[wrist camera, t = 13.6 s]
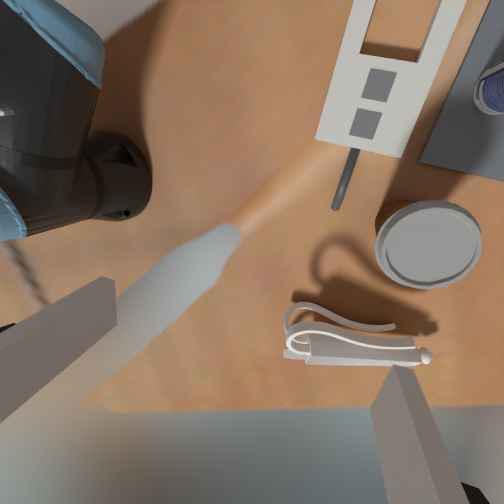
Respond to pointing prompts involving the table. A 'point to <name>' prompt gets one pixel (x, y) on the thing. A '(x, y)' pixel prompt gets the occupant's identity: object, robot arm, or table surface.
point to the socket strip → (380, 89)
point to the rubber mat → (471, 109)
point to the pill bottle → (491, 90)
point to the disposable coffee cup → (426, 242)
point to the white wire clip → (347, 343)
